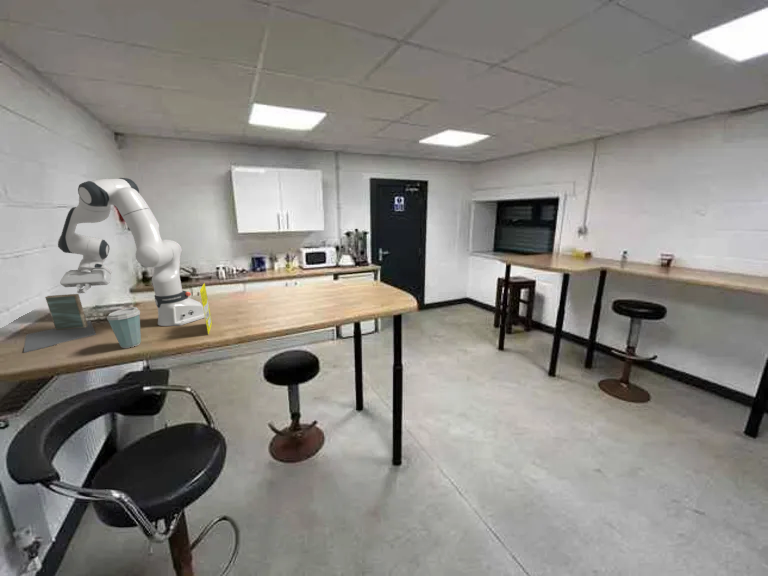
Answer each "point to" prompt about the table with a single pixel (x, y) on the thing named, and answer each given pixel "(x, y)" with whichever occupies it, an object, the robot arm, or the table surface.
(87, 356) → the table surface
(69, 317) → the ash tile
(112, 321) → the disposable coffee cup
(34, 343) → the charcoal mat
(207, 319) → the food package
